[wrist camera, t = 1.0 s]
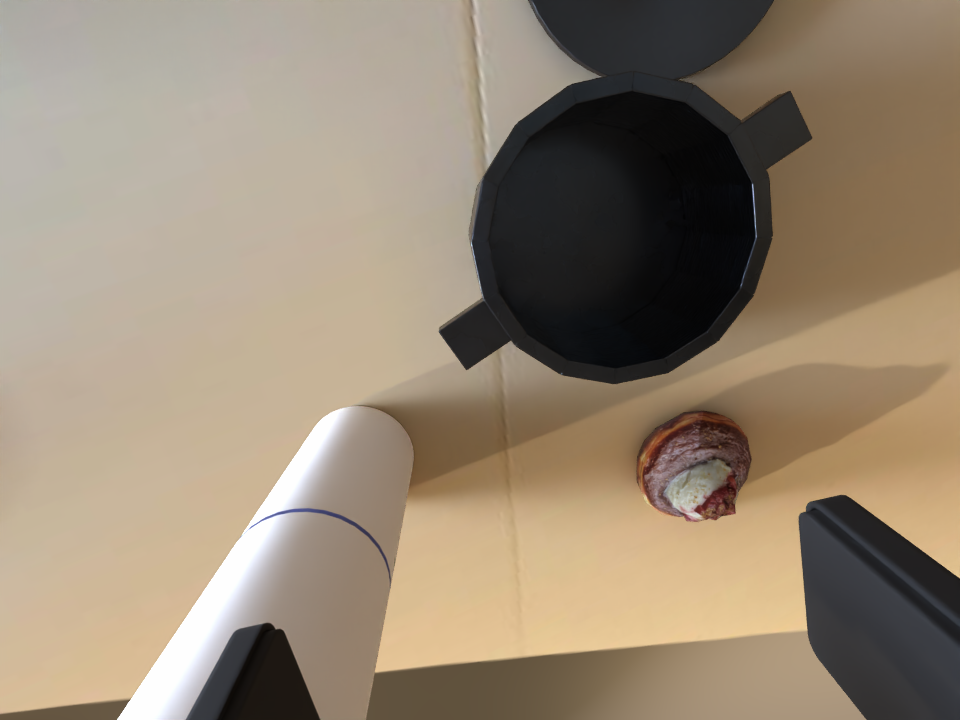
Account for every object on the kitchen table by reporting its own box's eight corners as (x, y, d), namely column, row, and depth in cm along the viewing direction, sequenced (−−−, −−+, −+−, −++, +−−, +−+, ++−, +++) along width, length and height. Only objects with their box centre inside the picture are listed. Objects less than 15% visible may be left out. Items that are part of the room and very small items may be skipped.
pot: (388, 228, 32) (363, 234, 24) (664, 28, 30) (741, -42, 21) (513, 403, 35) (529, 461, 27) (770, 235, 33) (873, 244, 25)
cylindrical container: (405, 399, 35) (283, 815, 11) (421, 496, 37) (347, 1032, 13) (296, 413, 35) (-67, 859, 11) (318, 509, 37) (50, 1069, 13)
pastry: (671, 528, 38) (701, 574, 33) (607, 457, 37) (629, 494, 32) (764, 459, 37) (809, 496, 32) (702, 382, 35) (740, 409, 31)
